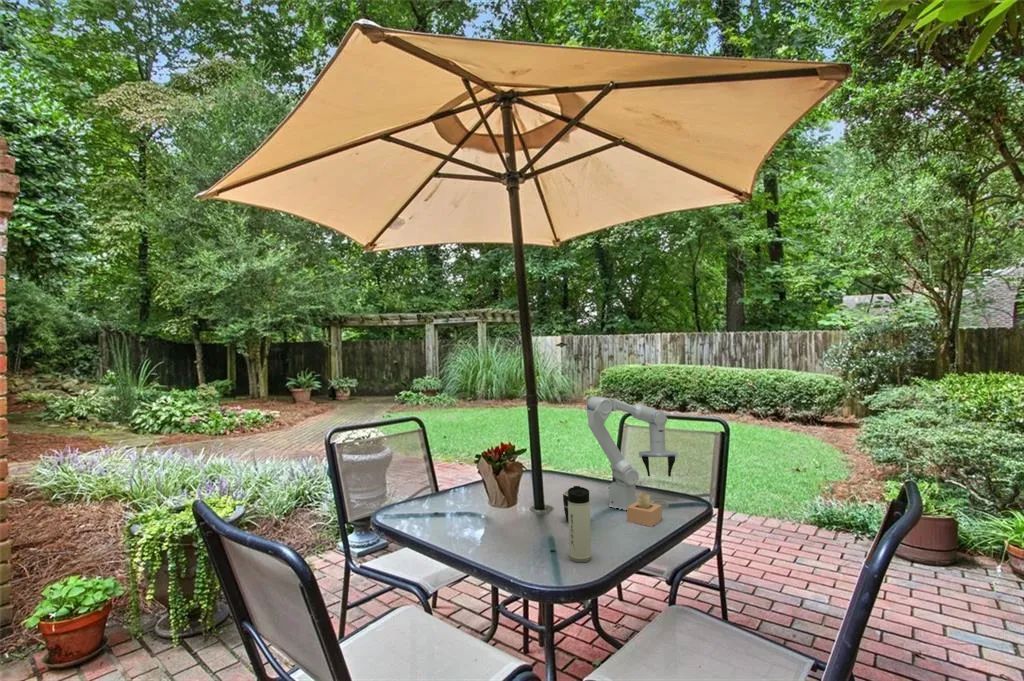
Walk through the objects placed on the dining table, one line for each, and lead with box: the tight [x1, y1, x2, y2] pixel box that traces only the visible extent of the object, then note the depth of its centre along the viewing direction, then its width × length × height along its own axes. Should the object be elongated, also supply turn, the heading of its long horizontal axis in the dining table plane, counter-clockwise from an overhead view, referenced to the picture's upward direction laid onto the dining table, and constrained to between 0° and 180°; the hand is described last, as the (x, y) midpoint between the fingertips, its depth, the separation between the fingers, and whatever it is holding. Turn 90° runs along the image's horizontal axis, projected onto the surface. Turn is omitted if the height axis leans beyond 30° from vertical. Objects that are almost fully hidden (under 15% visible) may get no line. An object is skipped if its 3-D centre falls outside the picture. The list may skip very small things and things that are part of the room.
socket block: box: [626, 500, 663, 528], centre depth 171 cm, size 9×9×5 cm
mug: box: [562, 489, 569, 524], centre depth 170 cm, size 12×9×10 cm
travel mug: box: [567, 485, 592, 564], centre depth 142 cm, size 6×7×20 cm
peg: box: [637, 492, 651, 509], centre depth 172 cm, size 4×4×8 cm
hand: (659, 475), depth 191 cm, fingers open, 7 cm apart
